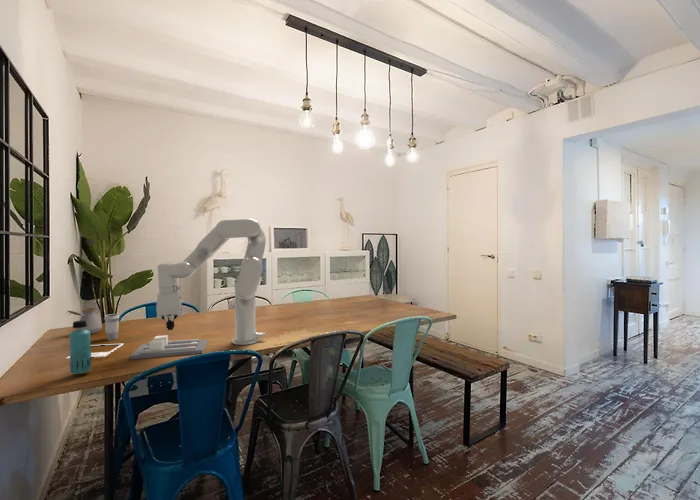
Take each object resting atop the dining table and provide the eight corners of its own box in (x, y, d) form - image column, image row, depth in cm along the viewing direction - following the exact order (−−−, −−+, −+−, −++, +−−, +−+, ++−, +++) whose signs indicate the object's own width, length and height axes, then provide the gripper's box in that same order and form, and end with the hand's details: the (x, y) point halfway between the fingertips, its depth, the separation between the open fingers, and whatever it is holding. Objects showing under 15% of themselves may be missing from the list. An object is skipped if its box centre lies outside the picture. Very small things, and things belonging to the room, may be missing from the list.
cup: (120, 339, 175) (119, 315, 175) (103, 341, 172) (103, 317, 171) (119, 336, 181) (119, 313, 181) (104, 338, 177) (103, 314, 177)
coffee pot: (85, 330, 192) (84, 303, 192) (107, 330, 193) (106, 303, 193) (55, 341, 171) (55, 311, 171) (80, 341, 172) (79, 310, 172)
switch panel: (207, 342, 170) (207, 337, 170) (202, 353, 154) (202, 347, 153) (142, 347, 162) (142, 341, 162) (130, 359, 146) (130, 353, 146)
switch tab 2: (164, 348, 156) (164, 339, 156) (162, 350, 152) (162, 341, 152) (152, 349, 154) (151, 340, 154) (149, 351, 151) (149, 342, 150)
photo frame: (65, 357, 146) (89, 344, 164) (66, 360, 146) (89, 347, 164) (104, 355, 149) (123, 343, 167) (104, 357, 149) (123, 345, 167)
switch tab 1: (168, 343, 162) (167, 335, 162) (166, 346, 159) (165, 337, 158) (156, 344, 161) (156, 336, 161) (153, 347, 157) (153, 338, 157)
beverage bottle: (74, 379, 125) (73, 323, 124) (66, 375, 128) (65, 321, 128) (95, 373, 130) (94, 320, 130) (87, 370, 134) (86, 318, 133)
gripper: (187, 287, 166) (189, 325, 166) (152, 290, 162) (154, 329, 162) (184, 289, 158) (186, 329, 159) (147, 292, 154) (150, 333, 155)
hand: (170, 329), depth 161 cm, fingers closed
